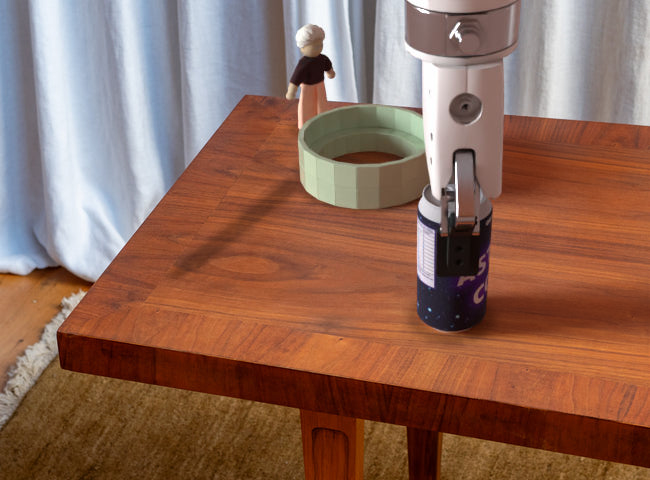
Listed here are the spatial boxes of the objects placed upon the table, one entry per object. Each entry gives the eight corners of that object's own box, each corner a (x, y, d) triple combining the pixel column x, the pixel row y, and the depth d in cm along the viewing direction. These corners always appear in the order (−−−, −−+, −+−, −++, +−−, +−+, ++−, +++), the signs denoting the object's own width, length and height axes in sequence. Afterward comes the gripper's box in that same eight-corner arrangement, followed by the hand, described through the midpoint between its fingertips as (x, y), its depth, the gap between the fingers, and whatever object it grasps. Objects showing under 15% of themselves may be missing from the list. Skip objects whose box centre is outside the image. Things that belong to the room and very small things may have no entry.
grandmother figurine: (313, 148, 100) (307, 38, 92) (284, 141, 102) (276, 33, 94) (346, 121, 105) (343, 15, 97) (318, 115, 107) (313, 10, 99)
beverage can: (458, 349, 70) (464, 220, 63) (402, 321, 74) (402, 196, 66) (498, 314, 74) (508, 188, 66) (443, 289, 77) (447, 166, 69)
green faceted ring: (430, 148, 99) (432, 102, 96) (439, 214, 88) (442, 165, 84) (304, 151, 100) (302, 105, 96) (297, 217, 89) (294, 168, 85)
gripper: (539, 72, 51) (516, 317, 62) (502, -22, 65) (489, 193, 76) (410, 78, 52) (410, 319, 63) (399, -17, 65) (401, 196, 76)
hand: (453, 248), depth 69 cm, fingers closed on beverage can, 5 cm apart
